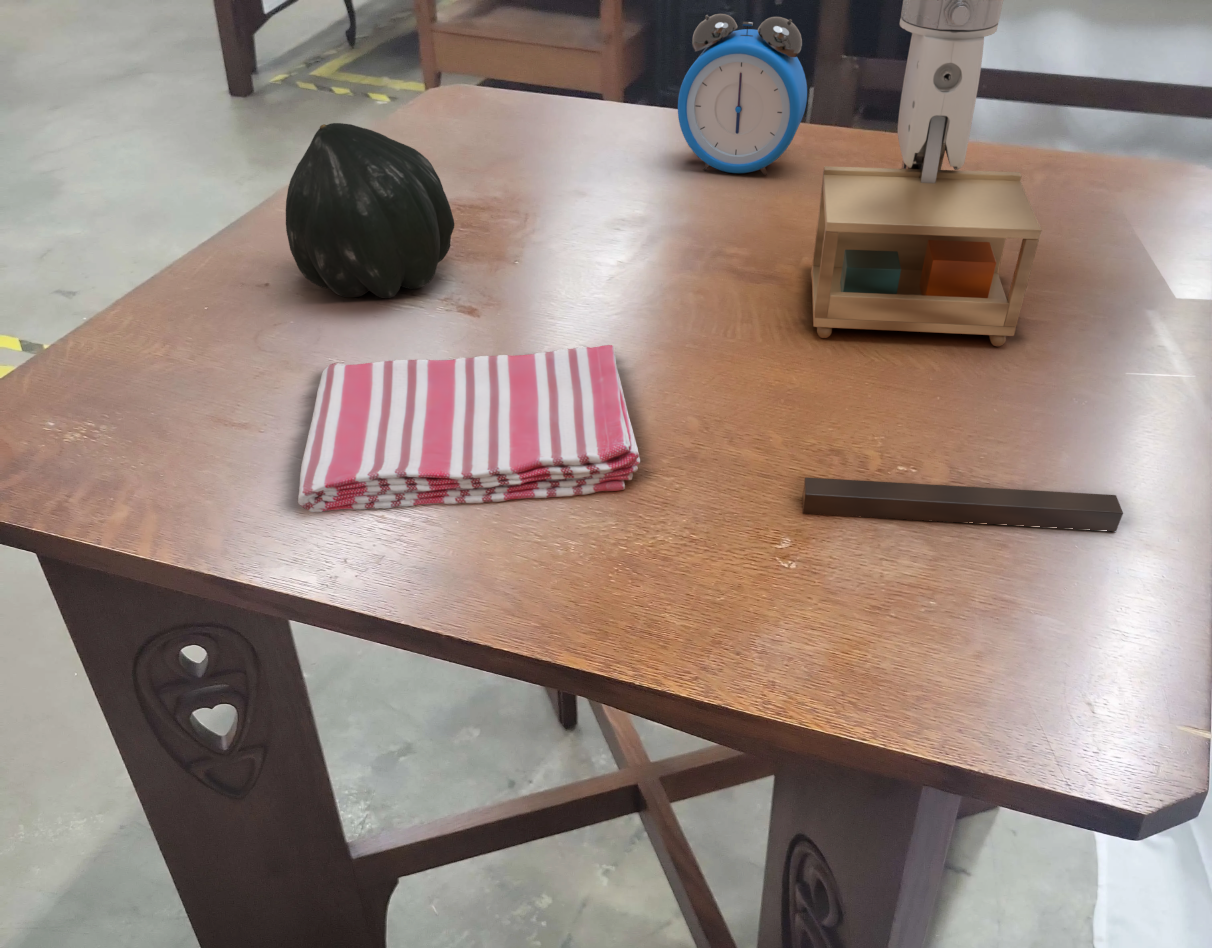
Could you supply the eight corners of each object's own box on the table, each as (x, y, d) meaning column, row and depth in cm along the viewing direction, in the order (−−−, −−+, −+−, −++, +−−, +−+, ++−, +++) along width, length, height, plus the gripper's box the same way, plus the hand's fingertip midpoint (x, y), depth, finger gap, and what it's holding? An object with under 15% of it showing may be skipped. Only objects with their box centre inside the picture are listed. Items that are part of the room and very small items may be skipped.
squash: (483, 185, 100) (355, 62, 92) (481, 259, 89) (337, 126, 81) (385, 283, 106) (258, 176, 98) (373, 363, 95) (228, 249, 87)
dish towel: (643, 492, 72) (643, 449, 70) (297, 518, 71) (286, 475, 68) (615, 368, 85) (614, 328, 83) (321, 387, 83) (312, 347, 81)
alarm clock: (674, 171, 117) (678, 20, 107) (687, 152, 122) (692, 5, 112) (792, 181, 114) (808, 27, 104) (801, 161, 119) (816, 12, 109)
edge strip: (1108, 514, 70) (1116, 494, 69) (1116, 532, 68) (1123, 512, 67) (802, 496, 72) (804, 476, 71) (802, 513, 70) (805, 494, 69)
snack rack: (991, 290, 94) (1020, 171, 87) (1010, 349, 86) (1043, 224, 79) (809, 283, 96) (824, 165, 89) (811, 340, 88) (827, 216, 81)
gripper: (1015, 33, 77) (960, 273, 89) (987, -15, 88) (941, 205, 100) (910, 30, 78) (869, 268, 90) (896, -17, 89) (861, 201, 101)
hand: (907, 234), depth 95 cm, fingers closed
